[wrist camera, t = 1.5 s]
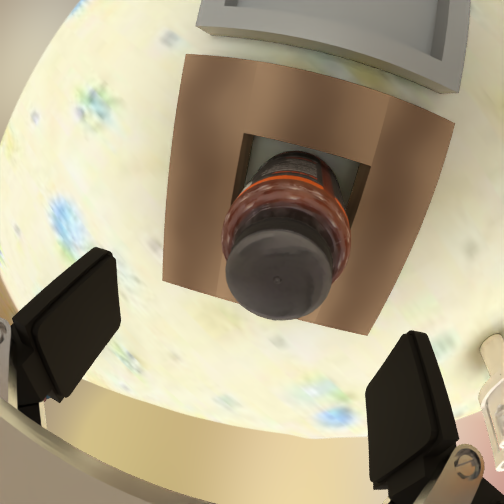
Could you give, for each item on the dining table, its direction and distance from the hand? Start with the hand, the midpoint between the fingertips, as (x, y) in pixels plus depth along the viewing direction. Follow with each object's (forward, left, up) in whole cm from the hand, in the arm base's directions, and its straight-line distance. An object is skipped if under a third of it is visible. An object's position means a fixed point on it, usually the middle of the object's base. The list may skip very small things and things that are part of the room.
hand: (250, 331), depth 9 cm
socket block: (0, 0, -14) cm, 14 cm away
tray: (0, -18, -14) cm, 23 cm away
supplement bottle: (0, 0, -14) cm, 14 cm away
